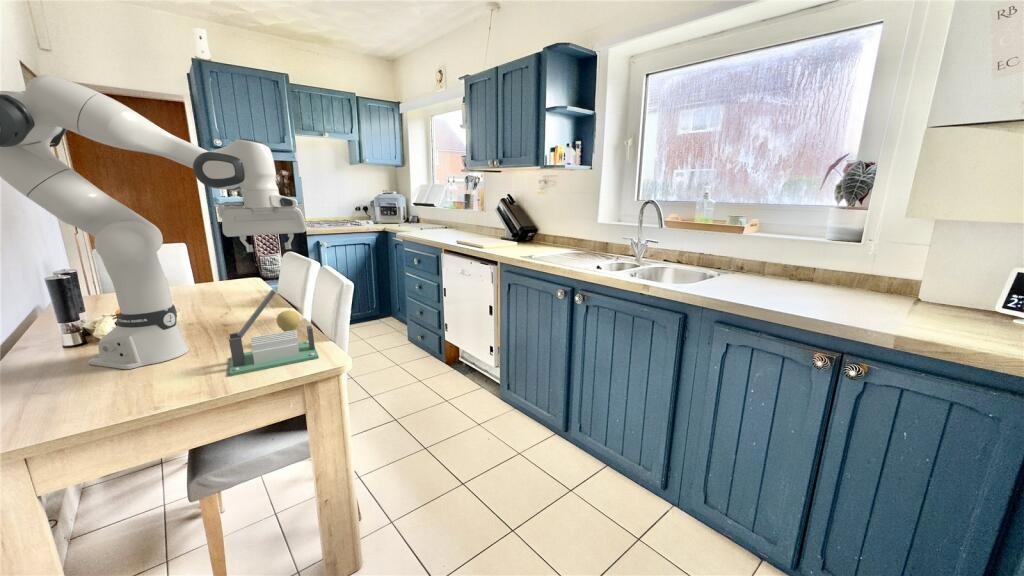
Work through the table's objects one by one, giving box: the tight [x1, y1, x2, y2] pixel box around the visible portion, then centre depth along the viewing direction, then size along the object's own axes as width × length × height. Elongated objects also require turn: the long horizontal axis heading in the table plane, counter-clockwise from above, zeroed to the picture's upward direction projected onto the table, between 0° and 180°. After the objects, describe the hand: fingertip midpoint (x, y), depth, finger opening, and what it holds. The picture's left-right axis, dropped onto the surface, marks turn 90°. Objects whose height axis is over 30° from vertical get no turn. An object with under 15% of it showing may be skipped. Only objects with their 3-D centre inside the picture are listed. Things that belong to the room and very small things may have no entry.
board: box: [228, 325, 320, 377], centre depth 114 cm, size 21×14×8 cm, turn 123°
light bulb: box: [276, 309, 301, 340], centre depth 127 cm, size 6×6×10 cm
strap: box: [236, 288, 277, 340], centre depth 110 cm, size 17×3×1 cm
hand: (269, 250), depth 115 cm, fingers open, 8 cm apart
